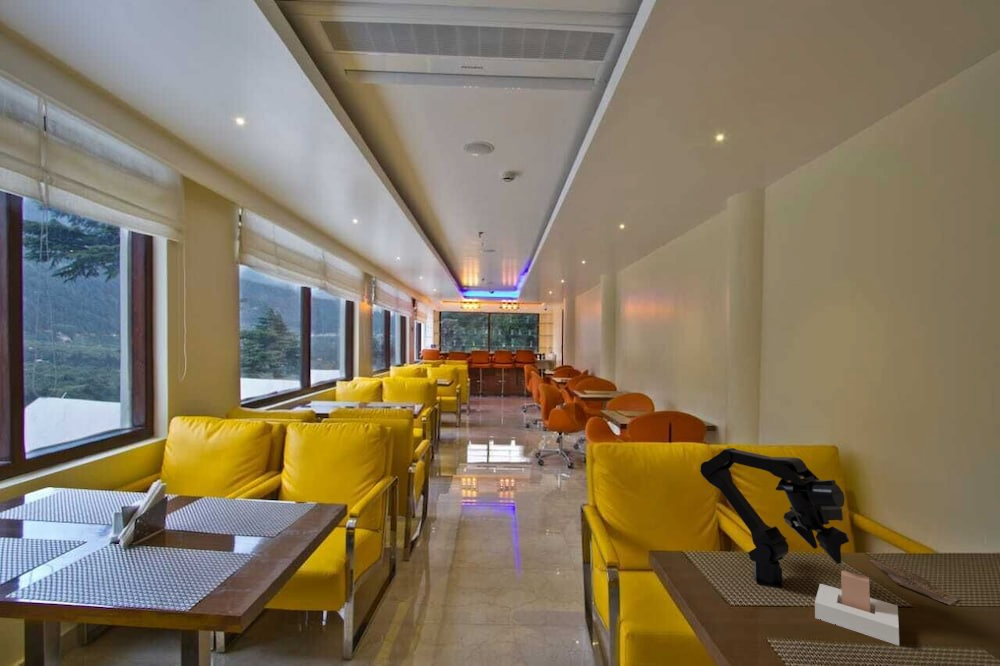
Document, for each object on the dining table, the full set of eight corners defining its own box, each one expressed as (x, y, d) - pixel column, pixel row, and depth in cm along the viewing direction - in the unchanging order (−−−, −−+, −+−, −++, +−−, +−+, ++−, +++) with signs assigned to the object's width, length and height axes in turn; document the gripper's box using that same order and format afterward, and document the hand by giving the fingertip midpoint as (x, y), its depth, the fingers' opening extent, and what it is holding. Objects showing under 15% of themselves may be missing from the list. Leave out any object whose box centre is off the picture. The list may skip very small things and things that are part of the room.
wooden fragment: (973, 608, 117) (972, 604, 117) (929, 606, 118) (929, 602, 118) (892, 561, 143) (891, 558, 143) (857, 561, 143) (856, 557, 143)
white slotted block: (815, 618, 112) (814, 602, 113) (820, 598, 121) (819, 583, 122) (899, 645, 102) (898, 628, 102) (898, 621, 111) (897, 605, 111)
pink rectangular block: (842, 614, 112) (841, 574, 113) (843, 608, 115) (841, 570, 115) (870, 623, 109) (868, 582, 109) (870, 617, 111) (869, 577, 111)
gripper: (854, 503, 114) (881, 559, 113) (806, 482, 132) (829, 530, 132) (814, 520, 114) (841, 576, 113) (772, 496, 133) (795, 545, 132)
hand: (827, 555), depth 122 cm, fingers open, 9 cm apart
